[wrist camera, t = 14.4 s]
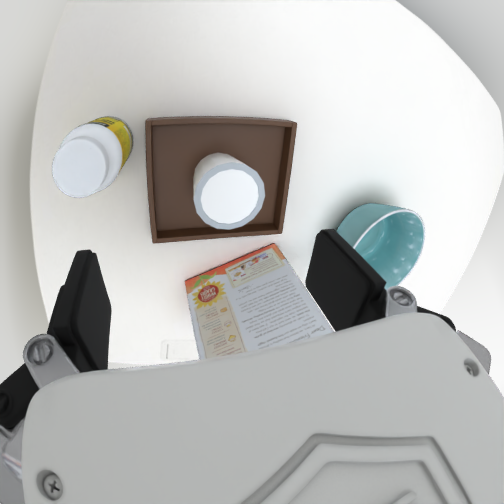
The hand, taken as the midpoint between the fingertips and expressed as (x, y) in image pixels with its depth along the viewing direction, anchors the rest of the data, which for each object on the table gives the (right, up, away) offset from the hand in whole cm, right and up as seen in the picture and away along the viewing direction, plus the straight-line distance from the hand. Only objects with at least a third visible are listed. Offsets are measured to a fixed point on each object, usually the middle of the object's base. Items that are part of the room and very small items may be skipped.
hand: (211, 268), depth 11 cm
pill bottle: (-14, +13, +14) cm, 24 cm away
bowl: (+19, +4, +32) cm, 37 cm away
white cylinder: (-2, +10, +20) cm, 22 cm away
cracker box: (-1, -3, +29) cm, 30 cm away
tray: (-2, +10, +20) cm, 23 cm away
